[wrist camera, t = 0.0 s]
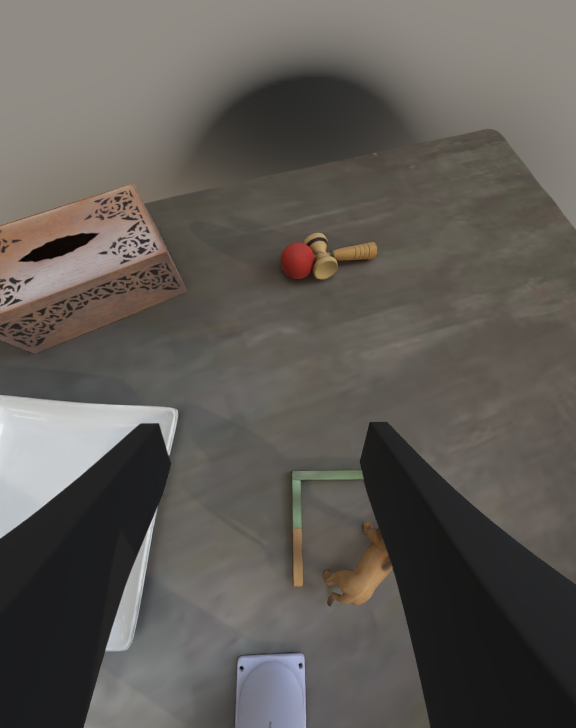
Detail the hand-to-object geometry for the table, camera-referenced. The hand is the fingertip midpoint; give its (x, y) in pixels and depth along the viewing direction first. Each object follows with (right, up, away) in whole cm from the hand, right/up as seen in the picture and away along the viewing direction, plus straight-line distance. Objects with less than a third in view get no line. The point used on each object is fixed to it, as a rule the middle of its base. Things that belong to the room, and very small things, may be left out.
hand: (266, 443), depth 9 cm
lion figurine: (+11, -22, +27) cm, 37 cm away
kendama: (+8, +22, +42) cm, 48 cm away
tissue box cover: (-32, +16, +38) cm, 52 cm away
